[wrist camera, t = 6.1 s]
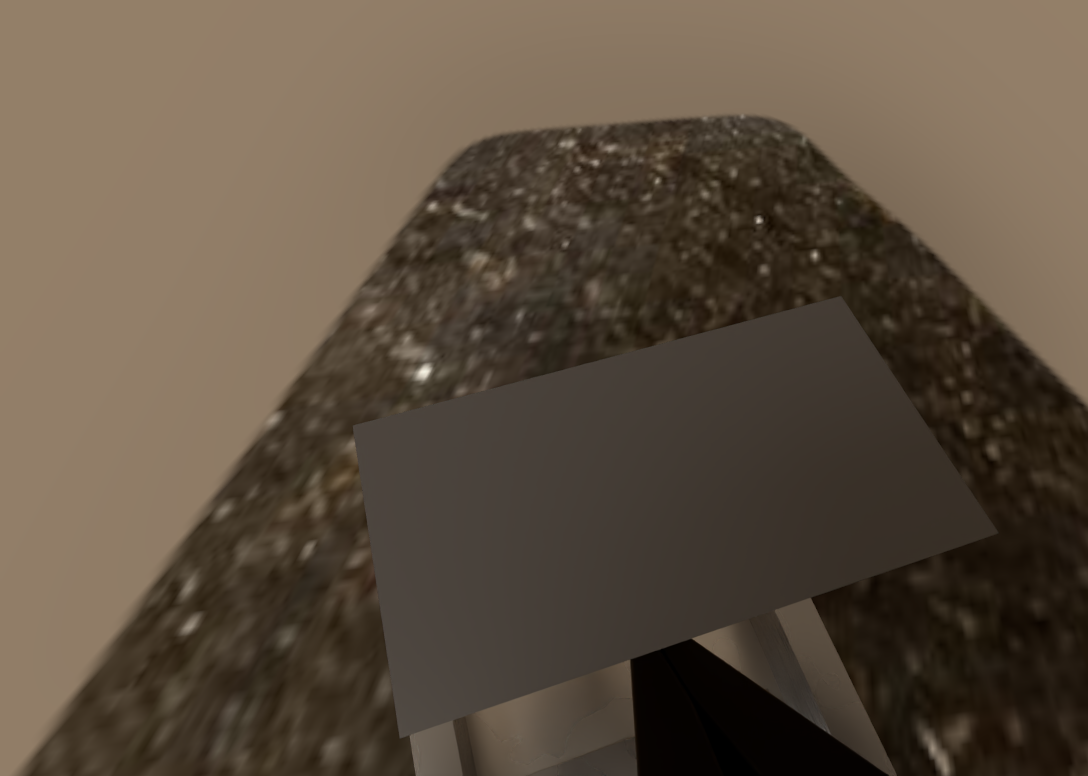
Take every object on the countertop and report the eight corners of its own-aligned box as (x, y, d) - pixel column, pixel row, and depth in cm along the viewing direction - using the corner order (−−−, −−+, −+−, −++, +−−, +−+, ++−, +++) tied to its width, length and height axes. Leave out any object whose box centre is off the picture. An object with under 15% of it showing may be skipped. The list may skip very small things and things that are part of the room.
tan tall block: (705, 610, 15) (998, 532, 5) (498, 680, 14) (399, 738, 5) (664, 508, 16) (841, 296, 7) (472, 567, 16) (352, 426, 6)
